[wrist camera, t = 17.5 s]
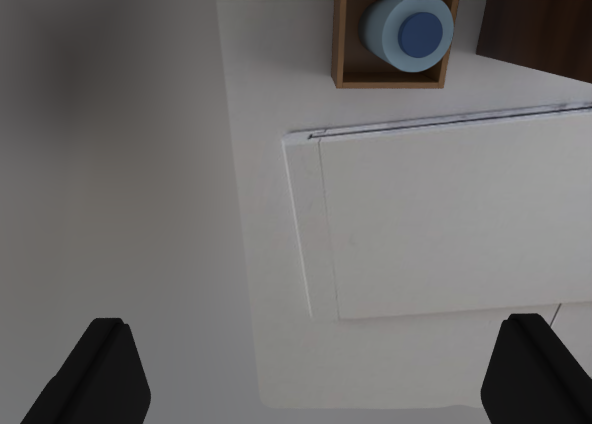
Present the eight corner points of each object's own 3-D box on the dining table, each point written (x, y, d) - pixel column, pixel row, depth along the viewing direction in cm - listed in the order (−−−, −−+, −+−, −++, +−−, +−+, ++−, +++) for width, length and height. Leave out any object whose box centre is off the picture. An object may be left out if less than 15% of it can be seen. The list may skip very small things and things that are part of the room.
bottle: (350, 43, 36) (372, 59, 24) (370, -10, 34) (406, -20, 22) (393, 61, 36) (435, 84, 25) (417, 10, 34) (474, 10, 23)
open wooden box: (331, 76, 38) (336, 88, 32) (335, -31, 33) (342, -39, 28) (421, 76, 37) (443, 88, 32) (437, -32, 33) (466, -40, 27)
